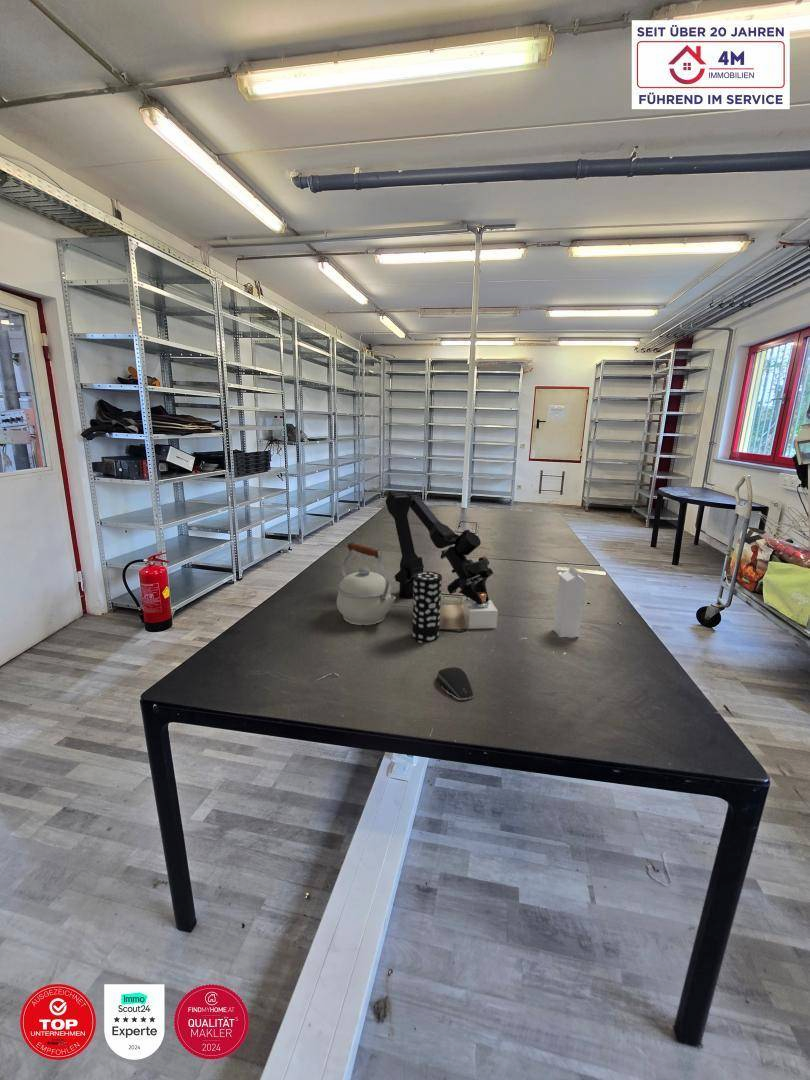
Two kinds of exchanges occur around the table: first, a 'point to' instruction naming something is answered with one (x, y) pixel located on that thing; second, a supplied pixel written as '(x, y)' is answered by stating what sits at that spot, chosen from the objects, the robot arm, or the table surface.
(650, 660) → the table surface
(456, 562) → the robot arm
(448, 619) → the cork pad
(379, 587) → the kettle
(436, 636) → the white-spotted black cylinder
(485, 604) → the plunger
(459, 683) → the computer mouse
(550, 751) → the table surface
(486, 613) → the white square block
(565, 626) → the milk
